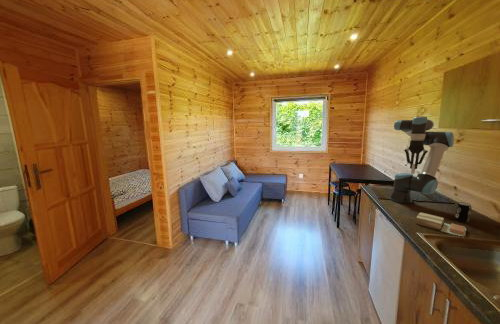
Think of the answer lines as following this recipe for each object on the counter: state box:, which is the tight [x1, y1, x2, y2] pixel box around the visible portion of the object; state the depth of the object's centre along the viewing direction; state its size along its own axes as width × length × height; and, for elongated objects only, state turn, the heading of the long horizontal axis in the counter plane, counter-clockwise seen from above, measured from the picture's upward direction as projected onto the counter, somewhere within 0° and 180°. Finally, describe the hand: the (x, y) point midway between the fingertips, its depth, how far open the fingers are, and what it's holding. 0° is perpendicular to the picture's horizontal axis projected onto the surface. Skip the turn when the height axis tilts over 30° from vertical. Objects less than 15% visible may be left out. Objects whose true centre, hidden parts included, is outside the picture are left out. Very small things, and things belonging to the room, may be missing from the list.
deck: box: [414, 211, 445, 231], centre depth 133 cm, size 12×12×4 cm
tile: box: [449, 223, 466, 235], centre depth 123 cm, size 9×6×2 cm, turn 131°
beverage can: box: [454, 201, 472, 224], centre depth 135 cm, size 7×7×12 cm
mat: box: [440, 222, 467, 237], centre depth 124 cm, size 14×10×1 cm
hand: (412, 173), depth 144 cm, fingers closed
